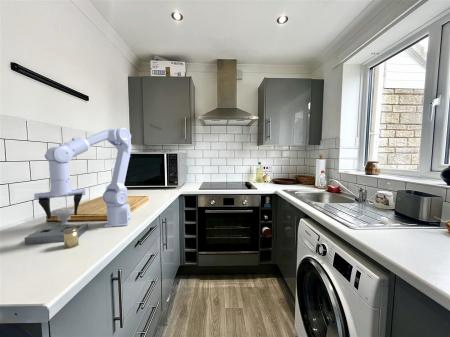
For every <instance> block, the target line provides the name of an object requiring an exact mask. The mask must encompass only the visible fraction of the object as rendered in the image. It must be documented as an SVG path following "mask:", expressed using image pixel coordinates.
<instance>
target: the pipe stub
mask: <svg viewBox="0 0 450 337" xmlns="http://www.w3.org/2000/svg"><path fill="white" fill-rule="evenodd" d="M63 233H64V241H63V243H64V245H63V246H64V249H73V248H76V247H77V246H80V245H79V237H78V228H76V227H73V228H68V229H65V230H64V231H63Z"/></svg>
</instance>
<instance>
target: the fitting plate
mask: <svg viewBox="0 0 450 337" xmlns="http://www.w3.org/2000/svg"><path fill="white" fill-rule="evenodd" d="M73 227H76V228H78V238H80V237H81V236H82V235H83V234H85V232H87V231H88V230H89V229H90V228H89V227H90V226H89V223H88V222H85V223H84V222H83V223H71V224H58V225H45V226H44V227H42V228H40V229H37V230H36V231H34V232H33V233H30V234H29V235H27V236H25V237H24V245H25V246H26V245H34V244H35V245H36V244H38V245H39V244H48V243H49V244H50V243H58V242H64V233H63V231H64V230H65V229H68V228H73Z"/></svg>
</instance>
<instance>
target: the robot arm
mask: <svg viewBox="0 0 450 337" xmlns="http://www.w3.org/2000/svg"><path fill="white" fill-rule="evenodd" d="M131 139H132V134H131V133H130V131H129V130H128V129H127V128H125V127H118V128H117V127H116V128H108V129H104V130H101V131H99V132H97V133H95V134H93V135H91V136H89V137H86V138H82V137H73V138H71V140H70V141H66V142H65V143H64V142H60V143H58V145H59V146H52V147H51V146H50V147H49V148H47V150H46V152H45V153H44V158H45V160H46V161H47V162H48V165H49V166H48V167H49V168H48V169H49V170H48V171H49V181H50V191H47V192H46V191H45V192H38V193H37V192H35V193H34V194H33V196H34V200H35V201H38V203H39V205H40V206H41V207H42V209H43V210H44V212H45V214H46V218H47V220H50V219H51V218H52V216H51V211H52V210H51V199H54V198H64V197H73V205H74V206H73V208H74V213H73V214H74V216H77V215H78V209H79V205H80V202H81V201H82V198H83V196H86V189H72V187H71V174H70V171H71V170H70V161H72V159H73V158H75V157H77V156H79V155H82V154H84V153H86V152H87V151H89V149H90V147H91V146H94V145H97V144H99V143H101V142H104V141H107V142H108V143H110V144H111V145H112V146H114V147H115V148H116V150H117V152H116V158H115V161H114V162H115V163H114V168H113V172H112V175H111V176H112V177H111V181H110V183H109V184H108V185H107V186H106V189H105V191H104V192H103V194H102V201H103V202H104V203H105V206H106V218H107V220H106V221H107V223H106V224H104V225H103V226H104V228H105V227H106V228H109V227H123V226H128V225H129V223H130V222H131V220H132V219H131V205H130V204H129V203H126V202H128V188H127V187H126V186H125V182H126V176H127V171H128V167H129V162H130V158H131V152H132V143H131V141H132V140H131Z"/></svg>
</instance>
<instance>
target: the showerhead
mask: <svg viewBox="0 0 450 337" xmlns="http://www.w3.org/2000/svg"><path fill="white" fill-rule="evenodd" d="M50 211H51V217H57V221H58V222H61V225H68V223H69V222H68V220H69V221H70V220H71V217H72V216H71V215H73V214H74V206H72V207H71V206H70V207H69V206H68V207H61V208H56V209H54V210H50Z"/></svg>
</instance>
